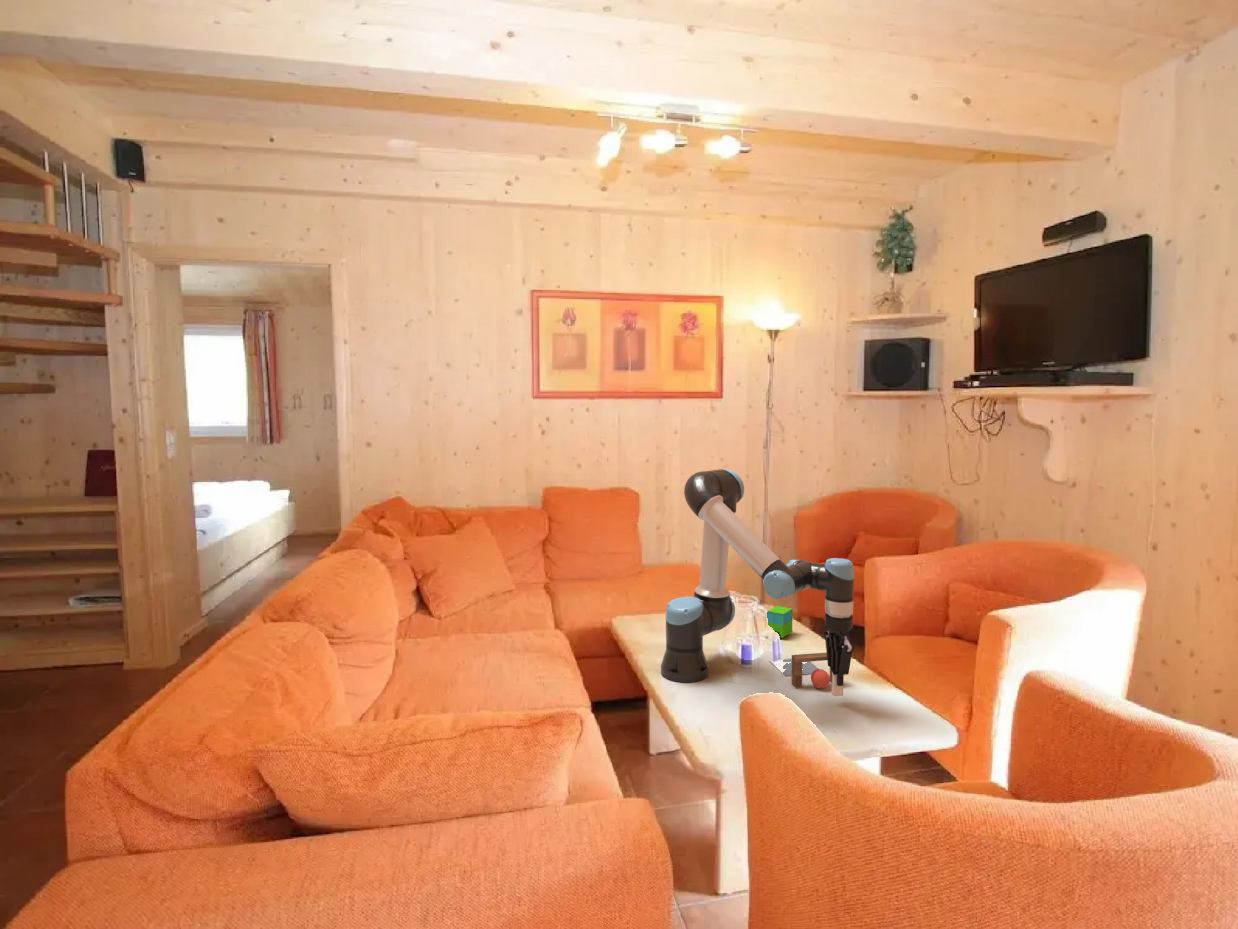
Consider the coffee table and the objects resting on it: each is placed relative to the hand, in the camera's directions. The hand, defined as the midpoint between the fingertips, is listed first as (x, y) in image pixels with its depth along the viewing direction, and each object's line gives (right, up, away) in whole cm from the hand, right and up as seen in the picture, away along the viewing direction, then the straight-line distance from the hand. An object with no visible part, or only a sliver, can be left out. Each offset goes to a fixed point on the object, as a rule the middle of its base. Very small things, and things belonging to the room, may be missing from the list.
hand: (837, 695), depth 183 cm
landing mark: (-5, 0, +27) cm, 27 cm away
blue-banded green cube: (-5, +2, +59) cm, 59 cm away
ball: (-2, +1, +11) cm, 11 cm away
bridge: (-2, -1, +13) cm, 13 cm away
